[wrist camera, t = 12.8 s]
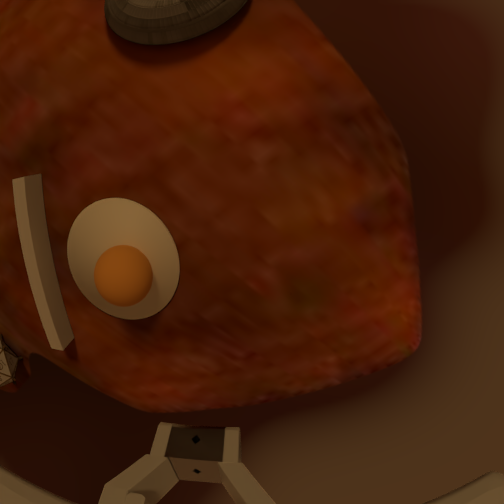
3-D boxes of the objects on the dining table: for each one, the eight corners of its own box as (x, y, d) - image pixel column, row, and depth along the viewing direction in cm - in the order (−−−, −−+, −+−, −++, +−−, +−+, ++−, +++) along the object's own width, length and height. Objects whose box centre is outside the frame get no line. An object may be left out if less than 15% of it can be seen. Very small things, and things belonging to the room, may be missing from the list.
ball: (133, 323, 22) (169, 292, 27) (116, 259, 20) (158, 236, 25) (92, 312, 24) (128, 287, 29) (75, 256, 22) (116, 237, 27)
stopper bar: (62, 335, 30) (51, 348, 28) (29, 176, 24) (12, 179, 21) (74, 337, 30) (63, 350, 28) (41, 173, 24) (24, 176, 21)
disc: (82, 314, 29) (81, 315, 29) (60, 203, 25) (59, 203, 25) (186, 321, 29) (186, 321, 29) (174, 193, 25) (173, 193, 25)
